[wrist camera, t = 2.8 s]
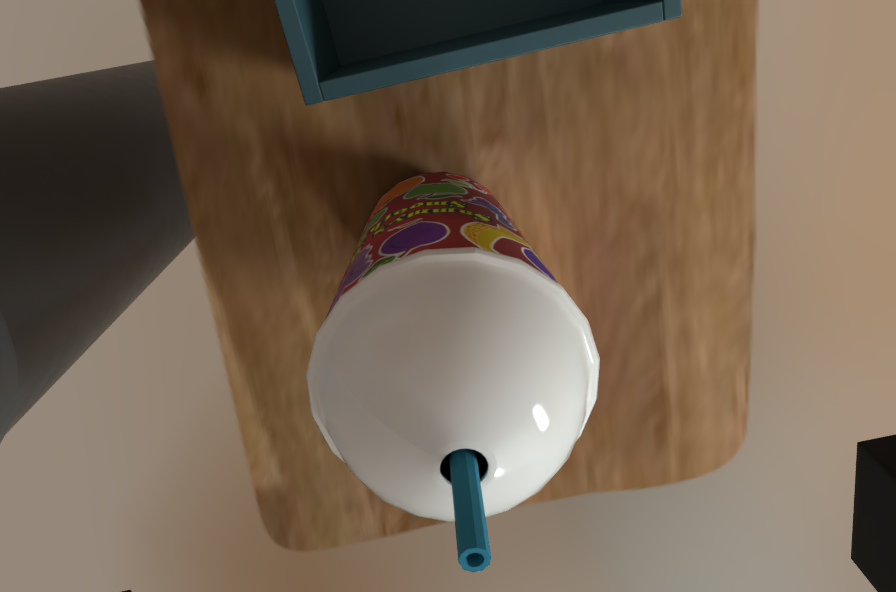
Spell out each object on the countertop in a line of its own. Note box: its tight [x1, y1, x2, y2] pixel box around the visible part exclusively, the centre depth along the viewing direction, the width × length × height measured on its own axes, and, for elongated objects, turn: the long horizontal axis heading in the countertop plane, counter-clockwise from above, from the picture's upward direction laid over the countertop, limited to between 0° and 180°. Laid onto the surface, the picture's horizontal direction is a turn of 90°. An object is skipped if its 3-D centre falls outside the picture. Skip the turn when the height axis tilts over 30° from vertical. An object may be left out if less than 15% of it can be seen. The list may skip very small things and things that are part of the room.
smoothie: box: [306, 172, 600, 572], centre depth 22 cm, size 8×8×20 cm
